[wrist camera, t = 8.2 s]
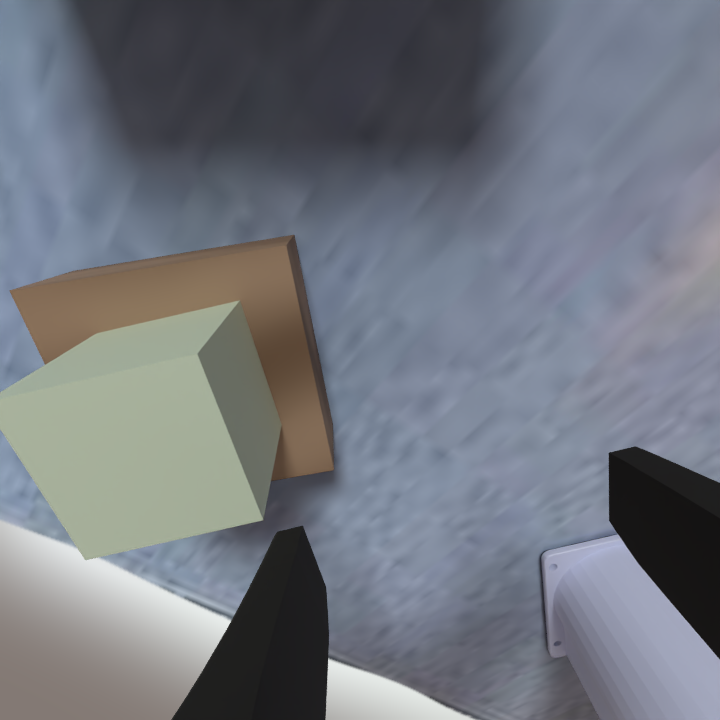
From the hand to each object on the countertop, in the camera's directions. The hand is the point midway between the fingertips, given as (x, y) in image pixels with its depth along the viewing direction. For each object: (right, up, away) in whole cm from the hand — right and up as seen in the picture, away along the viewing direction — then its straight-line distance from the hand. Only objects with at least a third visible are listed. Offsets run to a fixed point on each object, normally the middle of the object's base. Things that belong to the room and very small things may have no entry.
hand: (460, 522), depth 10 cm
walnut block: (-9, +4, +9) cm, 13 cm away
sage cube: (-8, +3, +5) cm, 10 cm away
